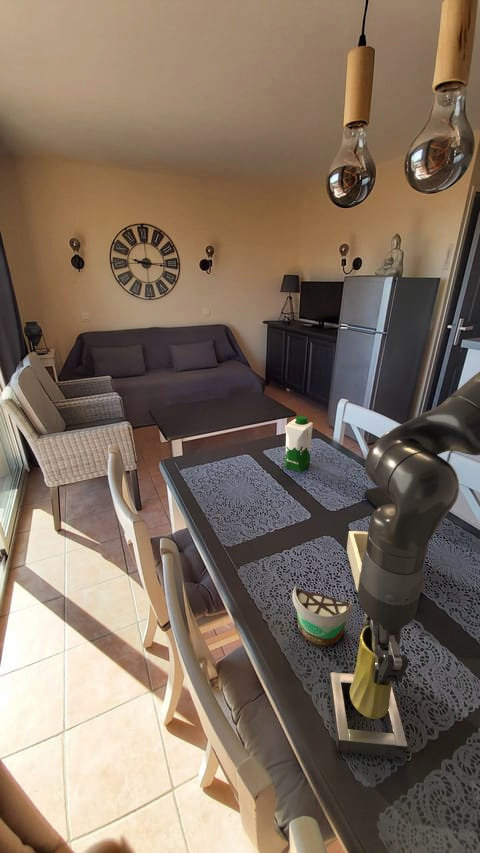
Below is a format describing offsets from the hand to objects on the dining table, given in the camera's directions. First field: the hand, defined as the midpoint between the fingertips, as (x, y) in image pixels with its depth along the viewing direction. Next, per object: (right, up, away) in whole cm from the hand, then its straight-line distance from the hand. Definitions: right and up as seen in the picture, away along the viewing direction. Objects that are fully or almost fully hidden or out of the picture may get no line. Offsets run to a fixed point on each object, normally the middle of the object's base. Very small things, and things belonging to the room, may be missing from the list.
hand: (375, 660), depth 55 cm
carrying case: (+26, +10, +60) cm, 66 cm away
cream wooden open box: (+14, -1, +35) cm, 38 cm away
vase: (0, -9, +4) cm, 10 cm away
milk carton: (+1, +20, +83) cm, 86 cm away
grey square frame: (0, -14, +6) cm, 16 cm away
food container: (-5, -9, +20) cm, 22 cm away
